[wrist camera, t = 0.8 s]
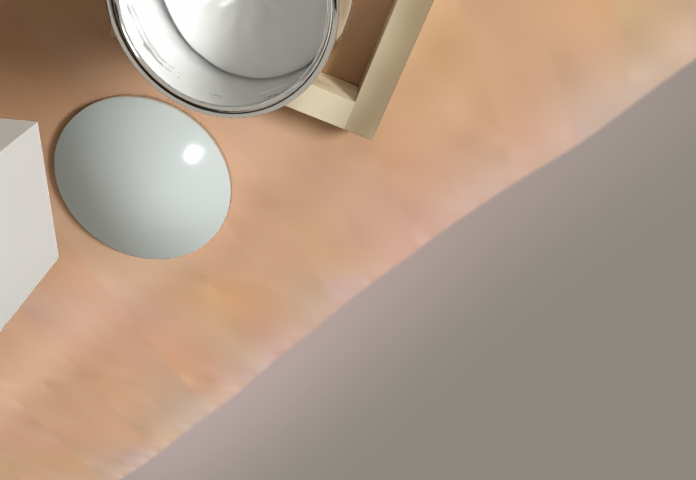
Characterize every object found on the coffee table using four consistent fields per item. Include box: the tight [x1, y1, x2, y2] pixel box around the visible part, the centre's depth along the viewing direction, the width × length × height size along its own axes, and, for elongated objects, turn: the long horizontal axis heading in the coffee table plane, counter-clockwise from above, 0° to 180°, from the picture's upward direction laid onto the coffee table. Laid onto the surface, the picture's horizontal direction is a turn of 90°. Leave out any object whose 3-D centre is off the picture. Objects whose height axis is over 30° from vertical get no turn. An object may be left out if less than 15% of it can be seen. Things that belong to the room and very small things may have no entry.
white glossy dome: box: [54, 95, 232, 259], centre depth 38 cm, size 10×10×1 cm
